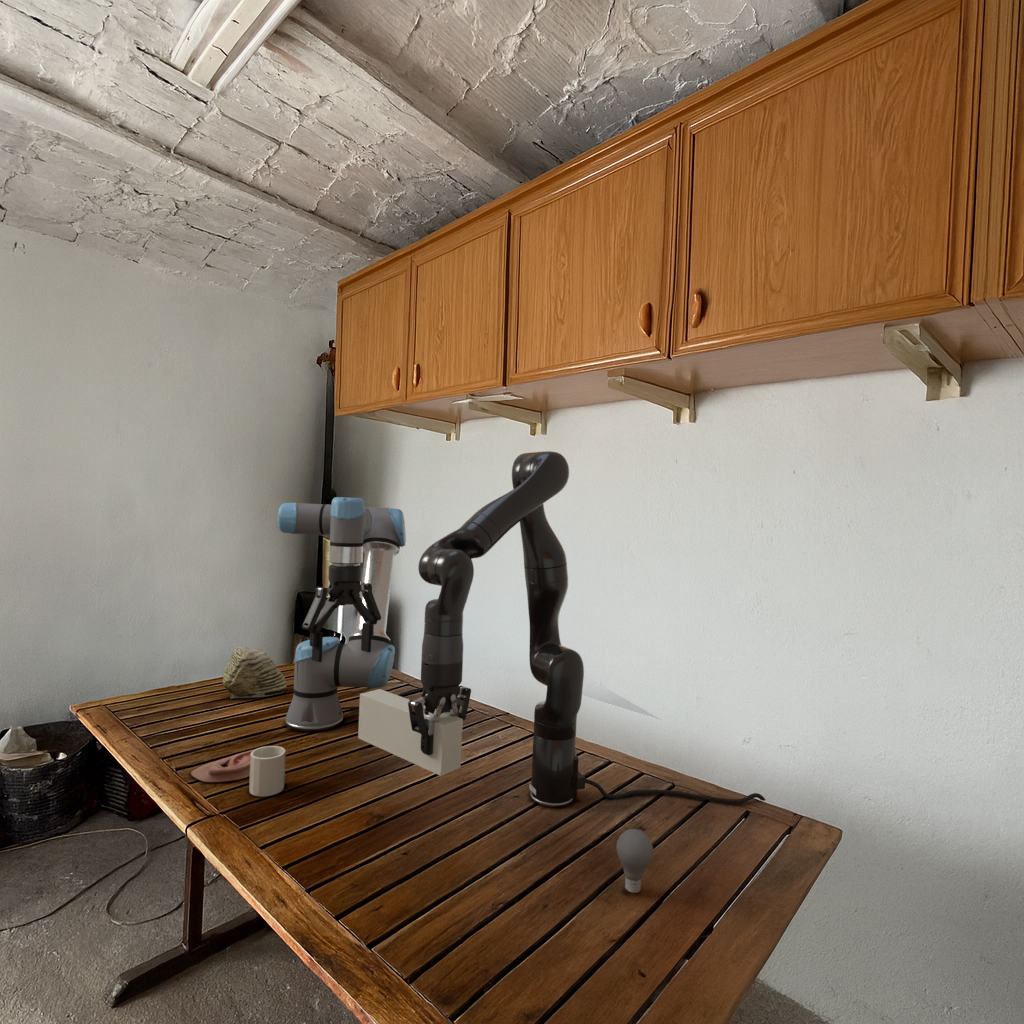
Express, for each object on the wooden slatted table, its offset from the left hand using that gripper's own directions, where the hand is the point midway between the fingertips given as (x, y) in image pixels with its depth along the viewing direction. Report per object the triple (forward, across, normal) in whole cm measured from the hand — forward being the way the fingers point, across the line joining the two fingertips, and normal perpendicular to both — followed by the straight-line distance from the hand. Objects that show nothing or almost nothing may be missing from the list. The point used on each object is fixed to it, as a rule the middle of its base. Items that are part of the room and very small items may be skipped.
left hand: (342, 656), depth 146 cm
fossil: (+27, -15, -63) cm, 70 cm away
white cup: (+27, +16, -3) cm, 31 cm away
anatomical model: (+27, +18, -17) cm, 36 cm away
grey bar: (+11, +8, +31) cm, 34 cm away
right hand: (+8, +8, +40) cm, 41 cm away
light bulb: (+27, -6, +73) cm, 78 cm away
